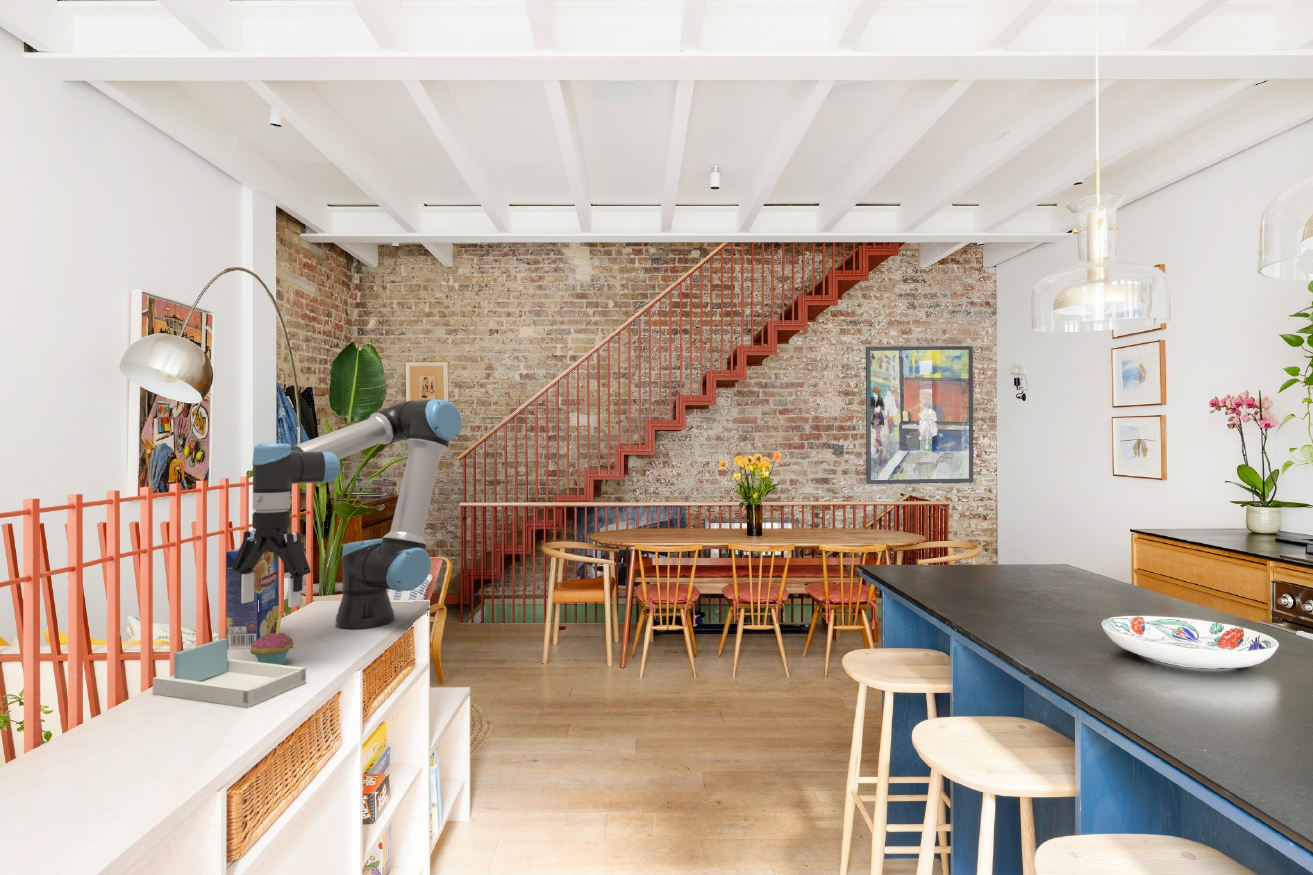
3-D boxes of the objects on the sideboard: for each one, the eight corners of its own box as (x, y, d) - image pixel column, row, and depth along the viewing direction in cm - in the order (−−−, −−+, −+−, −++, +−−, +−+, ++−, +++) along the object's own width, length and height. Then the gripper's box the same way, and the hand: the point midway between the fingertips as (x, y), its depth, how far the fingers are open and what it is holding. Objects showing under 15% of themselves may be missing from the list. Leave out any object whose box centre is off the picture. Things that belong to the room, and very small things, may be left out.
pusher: (209, 669, 151) (209, 636, 151) (227, 671, 149) (227, 638, 149) (160, 686, 140) (160, 651, 141) (178, 689, 139) (178, 653, 139)
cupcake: (280, 657, 162) (279, 606, 162) (301, 663, 158) (301, 610, 158) (242, 667, 155) (242, 614, 155) (263, 674, 151) (263, 619, 151)
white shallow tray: (216, 671, 152) (215, 657, 152) (305, 682, 145) (305, 667, 145) (152, 693, 139) (152, 678, 139) (248, 707, 131) (247, 690, 131)
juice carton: (258, 648, 169) (258, 551, 170) (226, 649, 169) (225, 552, 169) (279, 634, 181) (278, 544, 181) (249, 636, 180) (248, 544, 181)
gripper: (215, 510, 157) (214, 603, 156) (301, 513, 149) (301, 611, 149) (243, 508, 164) (243, 597, 164) (328, 510, 156) (327, 604, 156)
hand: (270, 604), depth 156 cm, fingers open, 13 cm apart
